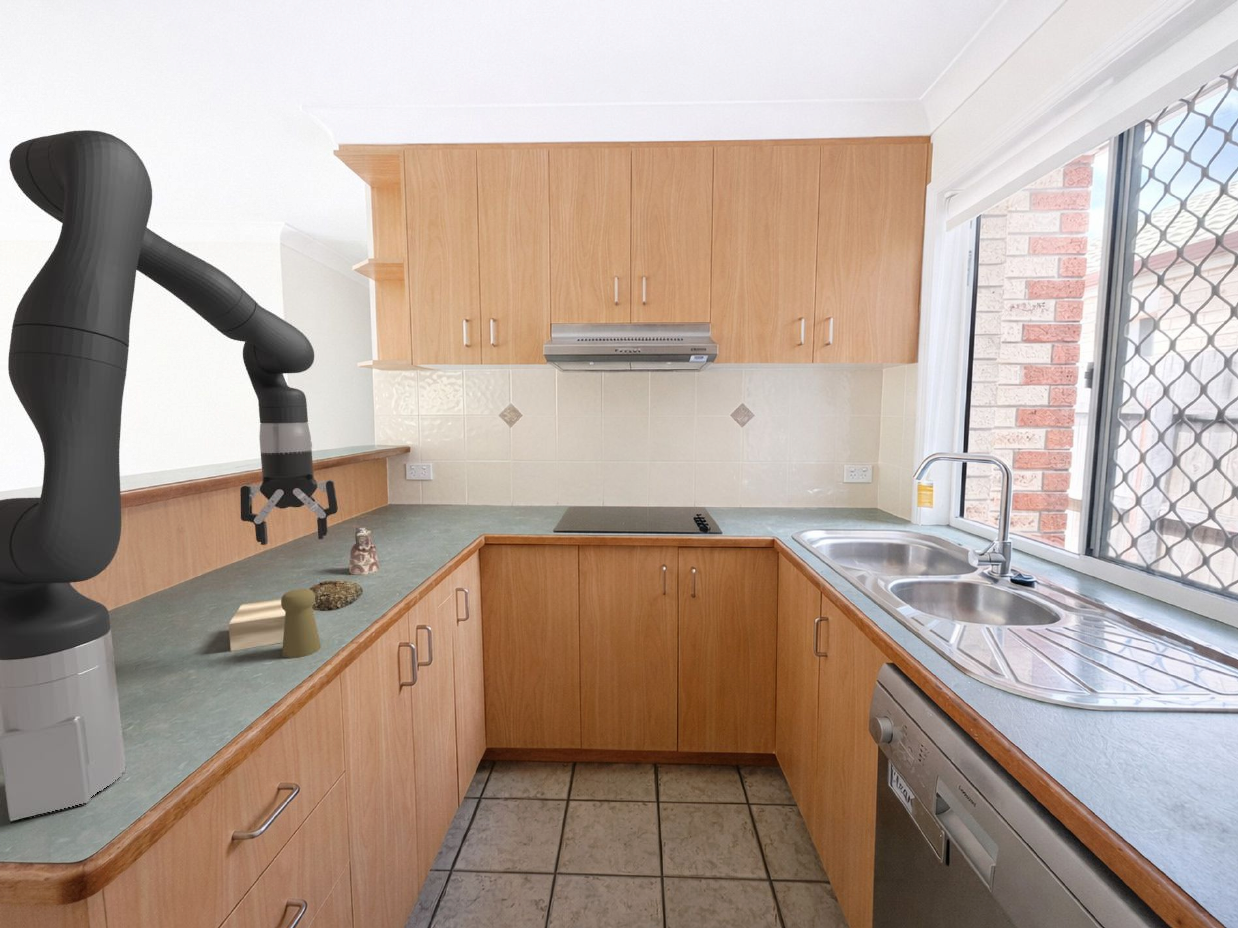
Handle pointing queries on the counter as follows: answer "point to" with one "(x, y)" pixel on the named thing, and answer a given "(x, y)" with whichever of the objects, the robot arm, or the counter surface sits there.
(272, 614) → the ash block
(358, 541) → the figurine
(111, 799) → the counter surface
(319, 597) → the bread roll
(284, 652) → the olive knobbed peg
